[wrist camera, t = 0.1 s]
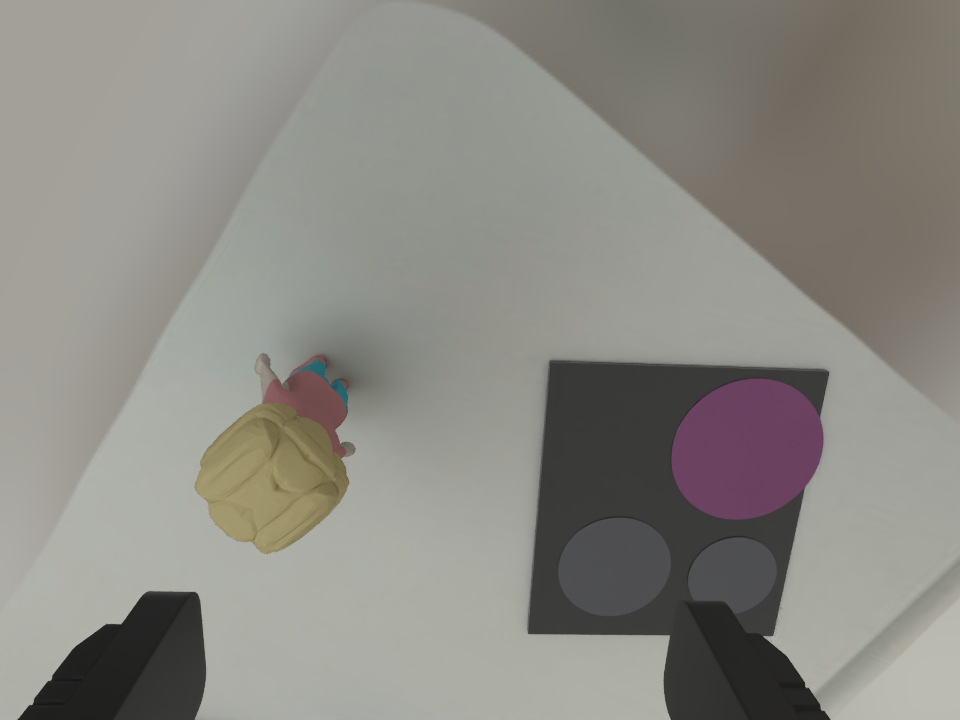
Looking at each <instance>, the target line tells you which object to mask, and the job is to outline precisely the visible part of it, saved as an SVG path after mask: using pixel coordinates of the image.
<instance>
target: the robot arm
mask: <svg viewBox="0 0 960 720" xmlns="http://www.w3.org/2000/svg"><path fill="white" fill-rule="evenodd" d="M52 676H53V677H52V680H51V681H48V682H47V683H46V684H45V686H44V687H43V688H42V690H41V691H40V692H39V693H38V695H37V696H36V697H35V699H34V703H33V705H29V706H28V707H27V709H26V710H25V711H24V713H23V714H22V715H21V716H20V718H19V719H18V720H194V719H195V717H196V714H197V712H198V710H199V707H200V704H201V701H202V697H203V693H204V688H205V681H206V661H205V650H204V638H203V627H202V615H201V604H200V599H199V596H198V594H197V593H196V592H161V591H148V592H146V593H145V594H144V595H143V596H142V597H141V598H140V599H139V601H138V602H137V604H136V605H135V606H134V608H133V609H132V611H131V612H130V613H129V615H128V616H127V617H126V619H125V620H124V622H123V623H122V624H106V625H105V626H103V627H102V628H100V629H99V630H98V631H96V632H95V633H94V634H92V635H91V636H90V637H88V638H87V639H85V640H84V641H83V642H81V643H80V644H79V645H77V646H76V647H74V649H73V650H72V651H71V652H70V654H69V655H68V656H67V658H66V659H65V660H64V661H63V663H62V664H61V665H60V667H59V668H58V669H57V670H56V672H55V673H54V674H53V675H52ZM664 694H665V701H666V706H667V710H668V713H669V716H670V719H671V720H830V718H829V717H828V715H827V714H826V713H825V711H821V708H820V704H819V702H818V701H817V699H816V698H815V697H814V695H813V694H812V692H811V691H810V689H809V688H806V687H805V682H804V681H803V679H802V678H801V676H800V675H799V673H798V672H797V670H796V669H795V668H794V666H793V665H792V663H791V662H790V660H789V659H788V657H787V656H786V655H785V654H783V653H782V652H781V651H780V650H779V649H777V648H776V647H775V646H774V645H773V644H771V643H770V642H769V641H768V640H766V639H765V638H764V637H763V636H762V635H760V634H759V633H746V632H745V630H744V629H743V627H742V626H741V624H740V623H739V621H738V619H737V618H736V616H735V615H734V613H733V612H732V610H731V608H730V607H729V606H728V604H727V603H725V602H724V601H686V600H680V601H679V602H678V603H677V604H676V606H675V610H674V615H673V621H672V627H671V633H670V640H669V646H668V652H667V658H666V664H665V670H664Z"/></svg>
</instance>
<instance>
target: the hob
mask: <svg viewBox="0 0 960 720" xmlns="http://www.w3.org/2000/svg"><path fill="white" fill-rule="evenodd" d="M828 376H829V371H827V370H813V369H783V368H753V367H723V366H693V365H663V364H633V363H602V362H572V361H549V373H548V385H547V397H546V409H545V422H544V434H543V446H542V458H541V470H540V482H539V495H538V507H537V519H536V531H535V543H534V555H533V567H532V580H531V592H530V604H529V616H528V628H527V631H528V634H580V635H670V633H671V627H672V621H673V615H674V610H675V606H676V604H677V603H678V602H679V601H680V600H686V601H724V602H725V603H727V604H728V606H729V607H730V608H731V610H732V612H733V613H734V615H735V616H736V618H737V619H738V621H739V623H740V624H741V626H742V627H743V629H744V630H745V632H746V633H759V634H760V635H762V636H773V634H774V630H775V625H776V620H777V616H778V611H779V606H780V602H781V597H782V592H783V588H784V583H785V578H786V573H787V569H788V564H789V559H790V555H791V550H792V545H793V541H794V536H795V531H796V527H797V522H798V517H799V512H800V508H801V503H802V498H803V494H804V489H805V486H806V485H807V484H808V482H809V481H810V480H811V478H812V476H813V474H814V473H815V471H816V469H817V466H818V464H819V461H820V458H821V454H822V448H823V430H822V425H821V421H820V414H821V409H822V405H823V400H824V395H825V390H826V386H827V381H828Z"/></svg>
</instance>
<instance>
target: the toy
mask: <svg viewBox="0 0 960 720" xmlns="http://www.w3.org/2000/svg"><path fill="white" fill-rule="evenodd" d="M326 367H327V366H326V360H325V359H324V358H323V357H322V356H320V355H318V356H314V357H313V358H311V359H310V360H309V361H308V362H306V363H305V364H304V365H302V366H300V367H299V368H297V369H295V370H294V371H293V372H292V373H291V374H290V377H289V378H288V379H287V380H286V381H285V382H284V383H283V384H282V385H281V382H280V380H279V379H278V377H277V376H276V375H275V373H274V372H273V371H272V370H271V368H270V358H269V357H268V355H267V354H264V353H262V354H260V355H259V357H258V358H257V360H256V364H255V372H256V373H257V374H259V375H260V378H261V386H262V398H263V401H262V404H261V405H258V406H256V407H254V408H253V409H251V410H250V411H248V412H247V413H245V414H244V415H243V416H242V417H240V418H239V419H238V420H237V421H235V422H234V423H233V424H232V425H231V426H230V427H228V428H227V429H226V430H225V431H224V432H223V433H222V434H220V435H219V437H218V438H217V439H216V440H215V441H214V442H213V444H212V445H211V446H210V447H209V448H208V449H207V450H206V452H205V453H204V455H203V457H202V459H201V461H200V464H201V470H200V472H199V475H198V477H197V480H196V483H195V490H196V491H197V493H198V494H199V495H200V496H201V497H203V498H204V499H205V500H207V502H208V508H209V514H210V516H211V518H212V520H213V522H214V523H215V525H217V526H218V527H219V528H220V529H222V530H223V531H224V532H225V533H226V535H227V536H229V537H231V538H233V539H235V540H237V541H241V542H249V541H250V542H252V543H253V544H254V545H255V547H256V548H257V549H258V550H259V551H260V552H262V553H264V554H268V553H271V552H277V551H280V550H282V549H284V548H286V547H288V546H289V545H291V544H292V543H294V542H296V541H297V540H299V539H300V538H302V537H303V536H304V535H305V534H307V533H308V532H309V531H310V530H311V529H313V528H314V527H315V526H316V525H317V524H319V523H320V522H321V521H322V520H323V519H324V518H325V517H326V516H327V515H328V514H329V513H330V512H331V511H332V510H333V509H334V508H335V507H336V506H337V505H338V504H339V502H340V501H341V499H342V497H343V496H344V494H345V492H346V490H347V487H348V485H349V479H348V477H347V475H346V468H345V465H344V463H343V461H342V459H341V458H343V457H347V456H351V455H353V454H354V453H355V450H356V448H355V446H354V445H353V444H352V443H350V442H343V443H341V444H340V442H339V438H338V436H337V434H336V432H335V429H336V428H338V427H339V426H340V425H341V424H342V422H343V421H344V420H345V418H346V416H347V413H348V407H347V402H348V394H347V392H346V389H347V387H348V385H347V382H346V381H345V380H343V379H338V380H336V381H334V382H333V383H332V384H331V385H329V382H328V380H327V379H326V377H325V369H326Z"/></svg>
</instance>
